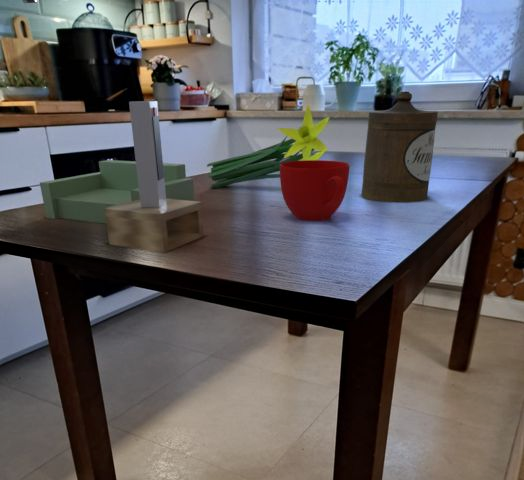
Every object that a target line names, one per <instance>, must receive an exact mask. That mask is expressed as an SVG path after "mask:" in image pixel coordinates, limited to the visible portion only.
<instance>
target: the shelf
mask: <svg viewBox="0 0 524 480" xmlns="http://www.w3.org/2000/svg"><path fill="white" fill-rule="evenodd" d="M104 211H105V218H106V230H107V239H108V244H109V246H117V247H124V248H131V249H136V250H145V251H152V252H158V253H166V252H169V251H172V250H174V249H176V248H179V247H181V246H184V245H186V244H188V243H191V242H194V241H196V240H198V239H201V238H203V237H204V220H203V205H202V201H198V200H197V201H196V200H195V201H187V200H176V199H166V203H165V204H163V205H162V206H161V207H160V208H141V203H140V199H139V200H135V201H131V202H127V203H123V204H119V205H115V206H111V207H108V208H104Z"/></svg>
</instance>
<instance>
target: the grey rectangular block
mask: <svg viewBox="0 0 524 480" xmlns="http://www.w3.org/2000/svg"><path fill="white" fill-rule="evenodd" d="M128 104H129V105H128V106H129V114H130V122H131V131H132V141H133V148H134V150H133V151H134V159H135V162H136V168H137V177H138V186H139V195H140V203H141V208H160V207H161V206H162V205H163V204H165V203H166V192H165V181H164V170H163V163H164V161H163V160H164V159H163V151H162V150H163V149H162V139H161V130H160V129H161V127H160V116H159V105H158V101H157V100H147V101H146V100H143V101H142V100H141V101H139V100H138V101H137V100H136V101H128Z"/></svg>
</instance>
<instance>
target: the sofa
mask: <svg viewBox="0 0 524 480" xmlns="http://www.w3.org/2000/svg"><path fill="white" fill-rule="evenodd" d="M98 167H99V171H98V172H92V173H86V174H80V175H75V176H70V177H69V176H68V177H63V178H57V179H52V180H46V181H41V182H40V181H39V185H40V186H39V187H40V192H41V197H42V202H43V207H44V212H45V217H46V219H52V220H53V219H54V220H56V219H64V220H73V221H81V222H89V223H98V224H106V218H105V211H104V208H108V207H111V206H115V205H119V204H123V203H127V202H131V201H135V200H139V199H140V195H139V186H138V177H137V168H136V160H135V161H133V160H132V161H131V160H118V159H117V160H116V159H115V160H114V159H107V160H99V161H98ZM163 170H164V181H165V192H166V199H176V200H187V201H196V200H195V188H194V187H195V186H194V185H195V184H194V178H188V177H187V171H186V164H185V163H170V162H169V163H168V162H163Z"/></svg>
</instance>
